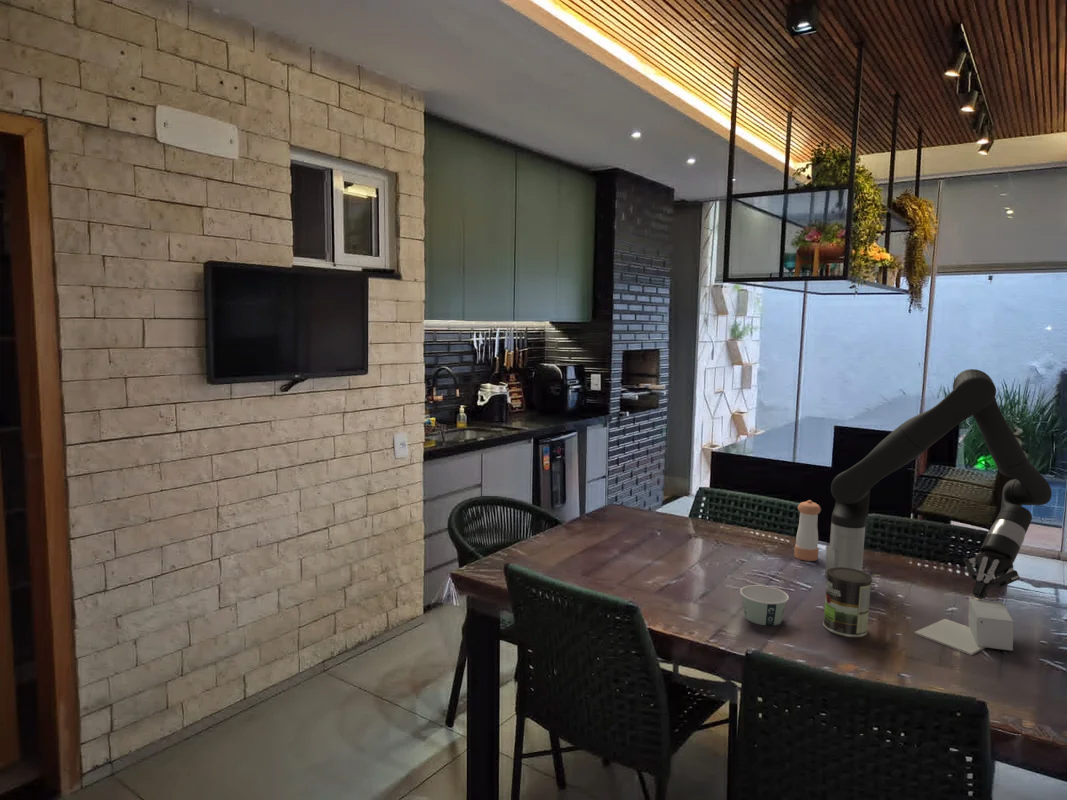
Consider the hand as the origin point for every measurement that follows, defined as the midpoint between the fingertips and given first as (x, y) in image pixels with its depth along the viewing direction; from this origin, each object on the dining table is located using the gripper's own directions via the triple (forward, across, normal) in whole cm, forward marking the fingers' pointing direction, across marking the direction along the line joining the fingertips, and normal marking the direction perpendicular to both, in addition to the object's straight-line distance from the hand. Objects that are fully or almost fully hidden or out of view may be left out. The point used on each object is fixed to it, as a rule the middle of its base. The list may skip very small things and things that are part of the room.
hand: (977, 596), depth 172 cm
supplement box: (+2, -2, -4) cm, 5 cm away
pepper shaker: (-2, +56, -14) cm, 58 cm away
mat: (+12, 0, 0) cm, 12 cm away
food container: (+35, +33, +23) cm, 53 cm away
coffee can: (+26, +18, +14) cm, 34 cm away
